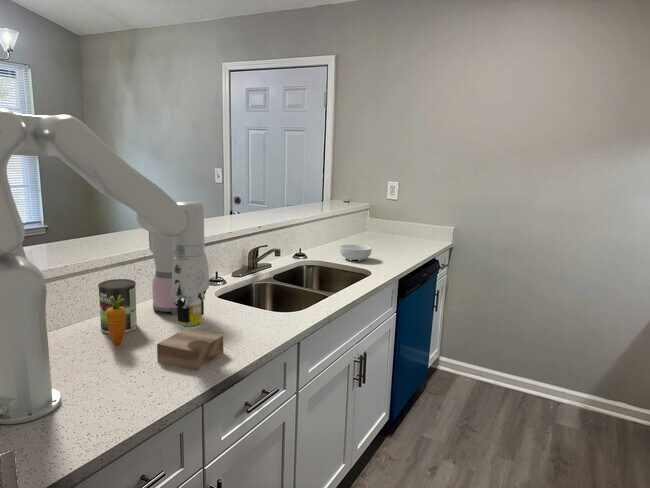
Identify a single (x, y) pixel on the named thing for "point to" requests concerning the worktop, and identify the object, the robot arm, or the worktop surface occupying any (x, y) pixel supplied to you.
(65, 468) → the worktop surface
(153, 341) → the worktop surface
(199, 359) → the brown cardboard box
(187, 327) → the supplement bottle
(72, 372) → the worktop surface
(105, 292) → the food can
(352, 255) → the cereal bowl
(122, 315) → the carrot
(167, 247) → the blender
